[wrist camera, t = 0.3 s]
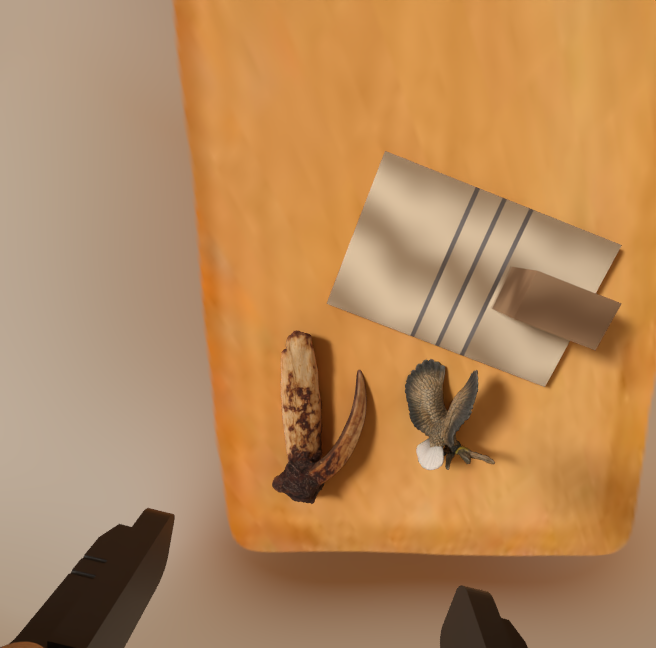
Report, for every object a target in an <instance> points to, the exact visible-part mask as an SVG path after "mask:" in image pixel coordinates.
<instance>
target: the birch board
mask: <svg viewBox="0 0 656 648" xmlns="http://www.w3.org/2000/svg"><path fill="white" fill-rule="evenodd" d="M621 246H622V245H620V244H618V243H615V242H612V241H610V240H607V239H605V238H602V237H600V236H597V235H595V234H592V233H590V232H587V231H585V230H582V229H580V228H577V227H575V226H572V225H570V224H567V223H565V222H562V221H560V220H557V219H555V218H552V217H550V216H547V215H545V214H542V213H540V212H537V211H535V210H532V209H530V208H527V207H525V206H522V205H520V204H517V203H515V202H512V201H510V200H507V199H505V198H502V197H499V196H497V195H494V194H492V193H489V192H487V191H484V190H482V189H479V188H477V187H474V186H472V185H469V184H467V183H464V182H462V181H459V180H457V179H454V178H452V177H449V176H447V175H444V174H442V173H439V172H437V171H434V170H432V169H429V168H427V167H424V166H422V165H419V164H417V163H414V162H412V161H409V160H407V159H404V158H402V157H399V156H397V155H394V154H392V153H389V152H386V151H385V153H384V155H383V158H382V160H381V163H380V166H379V168H378V171H377V174H376V176H375V179H374V181H373V184H372V187H371V189H370V192H369V194H368V197H367V200H366V202H365V205H364V208H363V210H362V213H361V215H360V218H359V221H358V223H357V226H356V228H355V231H354V234H353V236H352V239H351V241H350V244H349V247H348V249H347V252H346V255H345V257H344V260H343V262H342V265H341V268H340V270H339V273H338V275H337V278H336V281H335V283H334V286H333V288H332V291H331V294H330V296H329V299H328V302H327V304H329V305H332V306H334V307H337V308H340V309H342V310H345V311H347V312H350V313H353V314H355V315H358V316H361V317H363V318H366V319H368V320H371V321H374V322H376V323H379V324H381V325H384V326H387V327H389V328H392V329H395V330H397V331H400V332H402V333H405V334H408V335H410V336H413V337H416V338H418V339H421V340H423V341H426V342H429V343H431V344H434V345H436V346H439V347H442V348H444V349H447V350H450V351H452V352H455V353H457V354H460V355H463V356H465V357H468V358H471V359H473V360H476V361H478V362H481V363H484V364H486V365H489V366H491V367H494V368H497V369H499V370H502V371H505V372H507V373H510V374H512V375H515V376H518V377H520V378H523V379H526V380H528V381H531V382H533V383H536V384H539V385H541V386H544V387H545V386H546V384H547V382H548V380H549V379H550V377H551V375H552V373H553V371H554V369H555V367H556V366H557V364H558V362H559V360H560V358H561V356H562V355H563V353H564V351H565V349H566V347H567V345H568V343H569V342H570V340H567V339H564V338H562V337H559V336H557V335H554V334H552V333H549V332H546V331H544V330H541V329H539V328H536V327H533V326H531V325H528V324H526V323H523V322H521V321H518V320H515V319H513V318H511V317H509V316H507V315H504V314H502V313H500V312H498V311H496V310H494V309H492V308H491V306H492V304H493V302H494V299H495V297H496V295H497V293H498V291H499V289H500V287H501V285H502V283H503V281H504V279H505V277H506V275H507V272H508V270H509V268H510V266H511V267H518V268H524V269H530V270H536V271H540V272H542V273H545V274H547V275H550V276H552V277H555V278H558V279H560V280H563V281H565V282H568V283H570V284H573V285H575V286H578V287H580V288H583V289H586V290H588V291H591V292H593V293H596V292H597V290H598V288H599V286H600V284H601V282H602V281H603V279H604V277H605V275H606V273H607V271H608V270H609V268H610V266H611V264H612V262H613V260H614V258H615V257H616V255H617V253H618V251H619V249H620V247H621Z"/></svg>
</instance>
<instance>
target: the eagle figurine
mask: <svg viewBox="0 0 656 648" xmlns="http://www.w3.org/2000/svg"><path fill="white" fill-rule="evenodd" d="M477 375H478V371H477V370H476V371H474V372H473V373H472V374H471V376H470V378H469V380H468V382H467V383H466V385H465V386H464V387H463V388H462V390H460V391H459V392H458V393H457V395H456V396H455V397H454V399H453V401H452V403H451V406H450V408H449V410H448V411H447V410H446V408H445V405H444V402H443V382H444V376H445V366H443V365H441V364H440V363H439V362H434V360H432V359H430V360H429V361H428V360H424V361H423V362H422V364H418V365H417V366H416V371H415V370H412V371H411V375H408V378H407V380H406V382H407V383H406V384H405V388H406V389H405V393H406V398H407V402H408V407H409V411H410V413H409V415H410V419H411V421H412V423H413V424H414V427H416V428H417V429H418V430H421V432H423V433H425V435H426V436H429V438H428V439H427V440H425V441H424V442H422V443H420V444H419V445H418V446H417V456H418V461H419V463H420V464H421V466H422V467H423V468H425V469H427V470H434V469H438V468H439V467H440V466H442V464H443V460H444V456H445V455H446V454H447V456H446V466H445V467H446V469H447V470H449V467H450V463H451V460H452V458H453V457H454V455H455V454H457V455H460V456H461V458H462V459H463V460H464V461H465V463H466V464H470V463H471V458H474V459H479V460H483V461H485V462H487V463H490V464H495V462H494V461H493V460H492V459H491V458H490V457H488V456H486V455H482V454H479V453H477V452H472V451H471V450H470V449H468V448H466V447H464V446H461V444H460V442H458V441H457V440H456V431H459V428H460V427H461V425H462V424H464V421H465V420H468V419H469V417H470V415H471V413H472V411H471V409H473V404H474V402H475V398H476V395H477V392H478V376H477ZM444 446H445V448H444V449H443V447H444Z"/></svg>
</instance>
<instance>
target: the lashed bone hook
mask: <svg viewBox="0 0 656 648" xmlns="http://www.w3.org/2000/svg"><path fill="white" fill-rule="evenodd" d="M281 377H282V380H281V398H282V414H283V415H282V419H283V425H284V434H285V442H286V450H287V455H288V464H287V465H286V467H285V470H284V472H282V473H281V474H280V475H279V476H276V477H275V478H274V480H273V483H272V486H273V488H274V489H275V490H276V491H278V492H283V493H285V494H287V495H288V496H289V497H290V498H291V499H292V500H294V501H298V502H306V503H311V504H313V503H314V502H315V499H316V496H317V494H318V493H319V491H320V490H322V487H323V486H324V483H325V482H326V481H327V480H329V479H330V478H331V477H333V476H334V475H335V474H336V473H337V472H338V471H339V470H340V469H341V468H342V467H343V466H344V465H345V463H346V462H347V460H348V459H349V457H350V456H351V454H352V452H353V450H354V448H355V446H356V444H357V442H358V440H359V437H360V434H361V431H362V428H363V425H364V420H365V416H366V404H367V397H366V388H365V383H364V378H363V375H362V372H361V371H360V370H358V372H357V379H356V390H355V397H354V402H353V406H352V410H351V413H350V416H349V418H348V421H347V423H346V425H345V427H344V429H343V431H342V434H341V436H340V437H339V439H338V441H337V442H336V444H335V445H334V447H333V448H332V449H331V450H330V451H329V453H328V454H327V455H326V456H325V457H323V458H322V459H321V457H322V449H321V432H322V423H321V418H322V415H321V409H322V402H321V398H320V392H319V383H318V367H317V365H316V358H315V353H314V349H313V345H312V337H311V335H310V334H307V333H304V332H300V331H294V332H293V333H292V334H291V335H290V336H289V337H288V338H287V341H286V349H284V350H283V351H282V358H281Z"/></svg>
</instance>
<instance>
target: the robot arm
mask: <svg viewBox="0 0 656 648" xmlns="http://www.w3.org/2000/svg"><path fill="white" fill-rule="evenodd" d="M173 525H174V514H170V513H166V512H162V511H158V510H154V509H150V508H147V509H145V510H144V511H143V513H142V514H141V515H140V517H139V518H138V519H137V521H136V522H135V523H134V525H133V526H132V527H129V526H125V525H121V524H119V525H117V526H116V527H114V528H112V529H111V530H109V531H108V532H106V533H105V534H103V535H102V536H100V537H99V538H98V539H97V540H96V542H95V543H94V544H93V545H92V546H91V548H90V549H89V550H88V551H87V553H86V554H85V556H84V558H82V559H81V560H80V561H79V562H78V563H77V565H76V566H75V567H74V568H73V570H72V572H71V573H70V574H68V575H67V577H66V578H65V579H64V581H63V582H62V583H61V584H60V585H59V586H58V588H57V589H56V590H55V591H54V593H53V594H52V595H51V596H50V597H49V599H48V600H47V601H46V602H45V603H44V605H43V606H42V607H41V608H40V609H39V611H38V612H37V613H36V614H35V616H34V617H33V618H32V619H31V620H30V622H29V623H28V624H27V625H26V627H25V628H24V629H23V630H22V631H21V632H20V634H19V635H18V636H17V637H16V638H15V639H14V640H13V641H12V642H11V643H10V644H8V645H5V646H2V647H0V648H124V647H125V645H126V643H127V641H128V640H129V638H130V636H131V634H132V632H133V630H134V629H135V627H136V625H137V623H138V621H139V619H140V618H141V615H142V614H143V612H144V610H145V608H146V606H147V605H148V603H149V601H150V599H151V597H152V595H153V594H154V592H155V590H156V588H157V586H158V584H159V582H160V579H161V577H162V575H163V572H164V569H165V566H166V562H167V558H168V553H169V547H170V542H171V535H172V530H173ZM440 648H528V647H527V645H526V643H525V641H524V640H523V638H522V637H521V636H520V634H519V633H518V632H517V630H516V629H515V628H514V626H513V625H512V624H511V622H510V621H509V620H507V619H503V618H501V617H500V615H499V612H498V609H497V607H496V604H495V602H494V599H493V597H492V596H491V594H490V593H489V592H486V591H482V590H478V589H474V588H470V587H465V586H459V587H458V588H457V590H456V593H455V595H454V598H453V601H452V603H451V606H450V608H449V611H448V613H447V616H446V618H445V621H444V624H443V626H442V630H441V636H440Z"/></svg>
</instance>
